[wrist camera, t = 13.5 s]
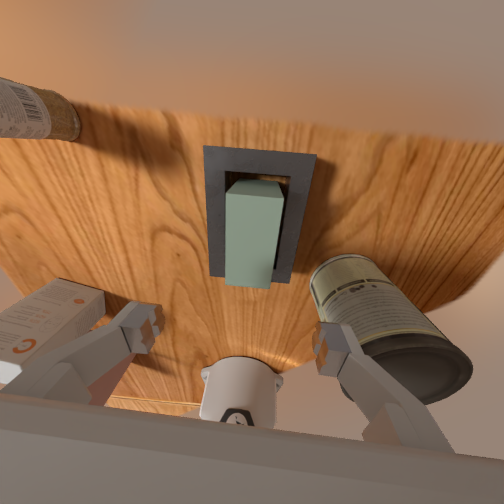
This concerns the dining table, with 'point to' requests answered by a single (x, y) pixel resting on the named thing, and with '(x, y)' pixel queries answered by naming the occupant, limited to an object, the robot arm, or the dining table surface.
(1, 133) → the sprinkles bottle
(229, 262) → the sage block
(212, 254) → the keyed collar
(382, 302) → the coffee can
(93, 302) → the small box
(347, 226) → the dining table surface
